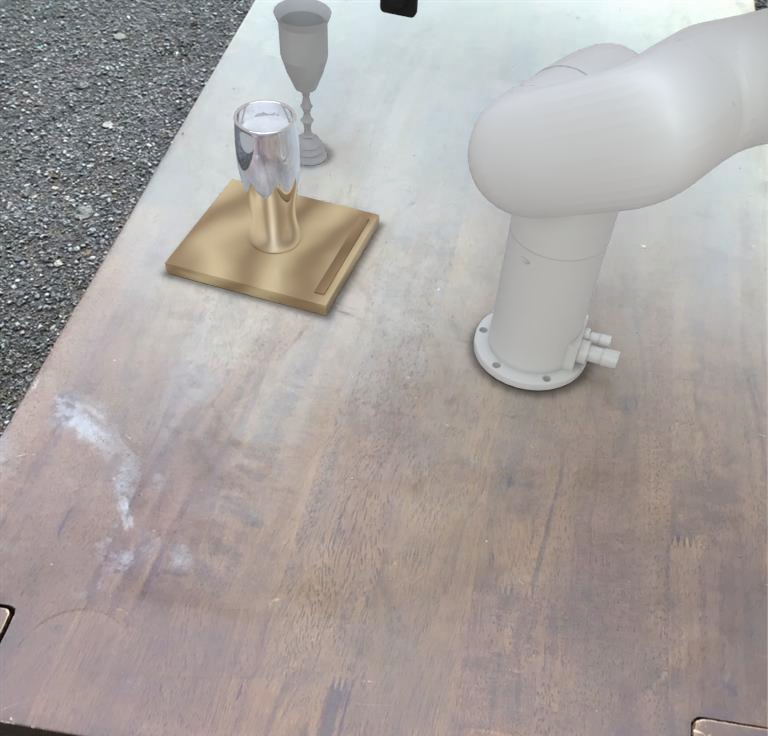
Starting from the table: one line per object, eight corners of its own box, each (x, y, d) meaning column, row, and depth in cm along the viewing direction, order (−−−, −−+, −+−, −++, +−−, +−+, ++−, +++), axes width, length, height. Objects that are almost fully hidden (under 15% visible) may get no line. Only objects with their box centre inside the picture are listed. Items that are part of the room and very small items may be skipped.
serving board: (379, 225, 102) (379, 212, 101) (326, 315, 92) (325, 303, 91) (233, 189, 105) (231, 176, 104) (167, 273, 95) (164, 261, 94)
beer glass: (296, 260, 95) (288, 138, 83) (238, 251, 96) (222, 128, 84) (311, 224, 99) (305, 103, 87) (255, 216, 100) (242, 94, 88)
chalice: (341, 164, 109) (340, 21, 95) (293, 174, 108) (284, 30, 93) (323, 136, 113) (319, -6, 98) (276, 144, 112) (265, 2, 97)
